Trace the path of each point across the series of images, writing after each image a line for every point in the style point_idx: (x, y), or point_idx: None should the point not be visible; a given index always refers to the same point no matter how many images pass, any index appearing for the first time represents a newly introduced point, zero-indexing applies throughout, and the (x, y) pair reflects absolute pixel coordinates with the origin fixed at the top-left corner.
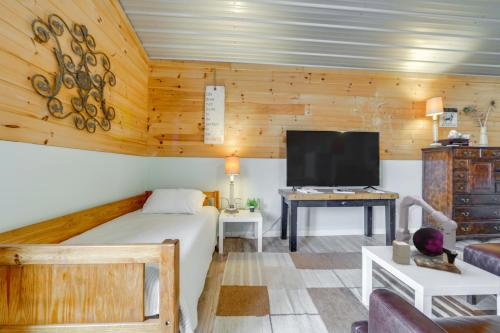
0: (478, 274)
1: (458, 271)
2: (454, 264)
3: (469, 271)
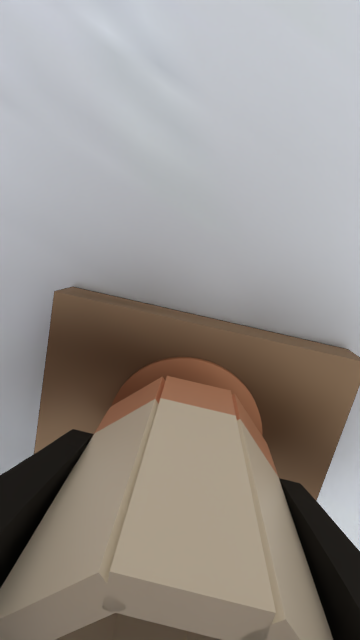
0: (292, 41)
1: (352, 391)
2: (243, 415)
3: (190, 128)
